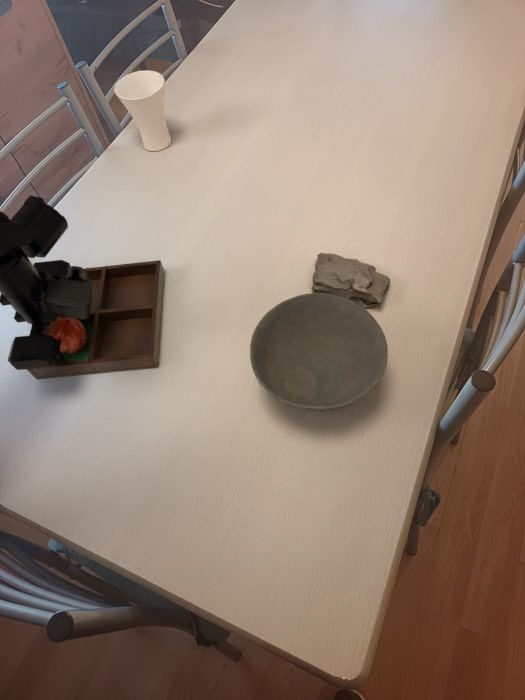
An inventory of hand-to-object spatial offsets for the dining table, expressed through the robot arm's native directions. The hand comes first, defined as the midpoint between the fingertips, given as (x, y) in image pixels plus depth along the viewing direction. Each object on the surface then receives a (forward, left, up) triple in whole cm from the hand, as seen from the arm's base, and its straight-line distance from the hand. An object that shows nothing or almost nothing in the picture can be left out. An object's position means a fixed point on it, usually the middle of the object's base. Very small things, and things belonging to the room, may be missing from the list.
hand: (66, 342), depth 83 cm
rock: (+47, +8, -3) cm, 48 cm away
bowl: (+41, -10, -3) cm, 42 cm away
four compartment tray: (+5, +5, -2) cm, 8 cm away
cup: (+12, +55, -3) cm, 56 cm away
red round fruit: (0, 0, -2) cm, 2 cm away
